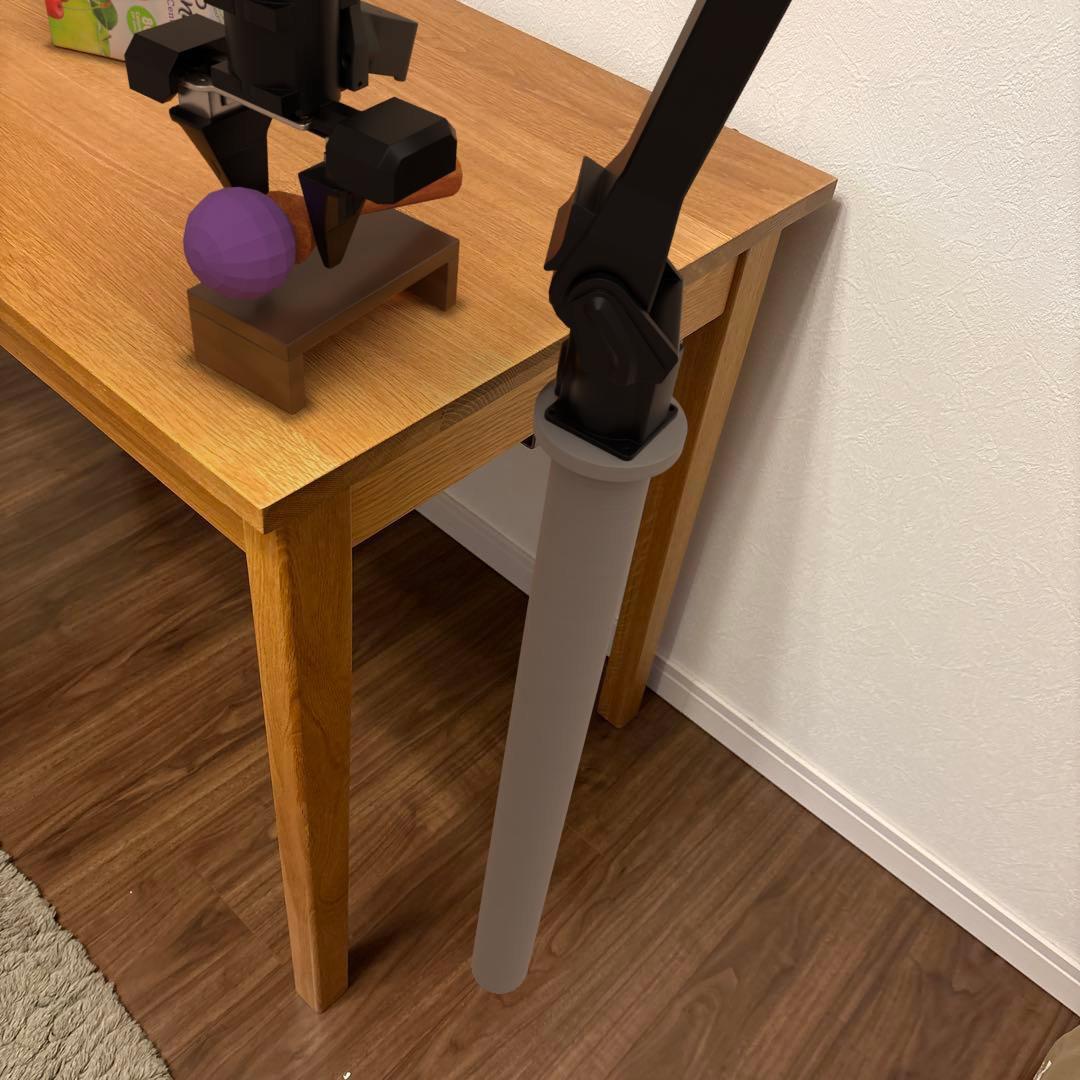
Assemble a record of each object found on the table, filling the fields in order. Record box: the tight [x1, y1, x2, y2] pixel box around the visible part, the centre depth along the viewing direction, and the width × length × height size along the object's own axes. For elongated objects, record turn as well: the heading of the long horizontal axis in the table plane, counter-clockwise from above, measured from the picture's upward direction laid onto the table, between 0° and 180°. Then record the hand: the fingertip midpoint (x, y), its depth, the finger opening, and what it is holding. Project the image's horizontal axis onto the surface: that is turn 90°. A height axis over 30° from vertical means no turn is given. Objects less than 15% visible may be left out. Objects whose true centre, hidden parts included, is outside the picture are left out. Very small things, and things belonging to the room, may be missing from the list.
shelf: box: [186, 208, 461, 415], centre depth 69 cm, size 8×16×5 cm, turn 146°
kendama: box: [182, 156, 464, 300], centre depth 64 cm, size 6×6×20 cm
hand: (296, 246), depth 63 cm, fingers closed on kendama, 5 cm apart
